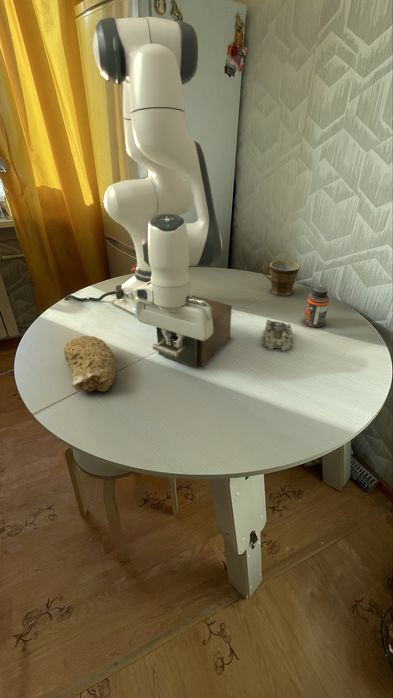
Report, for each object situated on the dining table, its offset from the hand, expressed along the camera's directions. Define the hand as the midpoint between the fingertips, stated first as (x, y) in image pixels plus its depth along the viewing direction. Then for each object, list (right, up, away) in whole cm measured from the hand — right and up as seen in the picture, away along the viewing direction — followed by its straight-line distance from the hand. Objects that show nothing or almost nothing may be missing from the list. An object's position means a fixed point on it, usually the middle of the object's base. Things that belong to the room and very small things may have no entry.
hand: (174, 345), depth 87 cm
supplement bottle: (+41, +7, +21) cm, 47 cm away
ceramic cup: (+34, +20, +41) cm, 57 cm away
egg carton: (+28, +1, +13) cm, 31 cm away
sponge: (-21, -7, +2) cm, 22 cm away
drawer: (+3, -2, +7) cm, 8 cm away
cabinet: (+5, 0, +12) cm, 13 cm away
